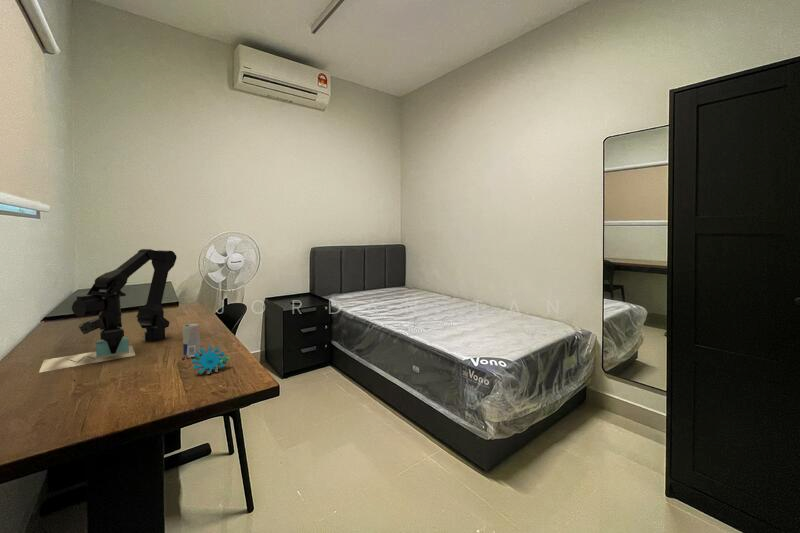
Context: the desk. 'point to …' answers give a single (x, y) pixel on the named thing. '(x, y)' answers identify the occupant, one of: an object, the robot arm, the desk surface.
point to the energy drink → (191, 339)
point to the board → (79, 360)
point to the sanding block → (104, 350)
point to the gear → (209, 360)
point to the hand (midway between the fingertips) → (112, 351)
